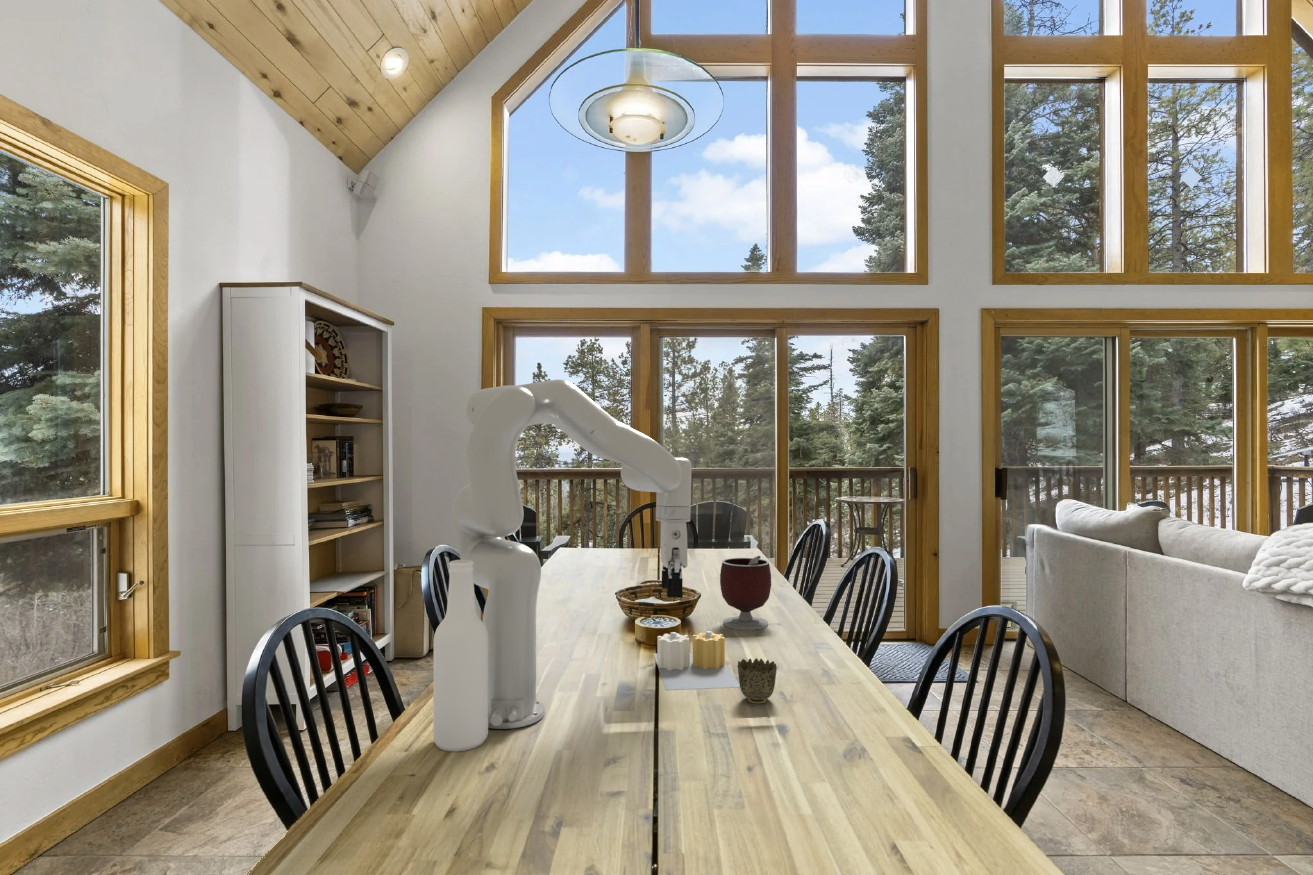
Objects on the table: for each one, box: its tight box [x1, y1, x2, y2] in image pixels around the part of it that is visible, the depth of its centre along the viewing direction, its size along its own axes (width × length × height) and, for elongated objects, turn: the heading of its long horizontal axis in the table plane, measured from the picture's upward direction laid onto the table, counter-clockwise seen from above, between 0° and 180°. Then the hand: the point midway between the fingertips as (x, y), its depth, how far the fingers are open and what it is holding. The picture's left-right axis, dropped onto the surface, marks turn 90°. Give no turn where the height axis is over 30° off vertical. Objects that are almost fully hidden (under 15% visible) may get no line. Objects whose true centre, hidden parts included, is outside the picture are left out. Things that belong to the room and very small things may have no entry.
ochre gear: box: [692, 631, 726, 669], centre depth 154 cm, size 7×7×6 cm
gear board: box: [653, 630, 740, 691], centre depth 151 cm, size 24×15×8 cm, turn 6°
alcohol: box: [432, 559, 489, 753], centre depth 117 cm, size 9×9×30 cm
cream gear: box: [656, 632, 691, 670], centre depth 153 cm, size 7×7×6 cm
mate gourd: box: [719, 555, 772, 631], centre depth 192 cm, size 16×14×20 cm
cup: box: [736, 657, 778, 704], centre depth 133 cm, size 8×7×8 cm
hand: (671, 592), depth 153 cm, fingers open, 9 cm apart
